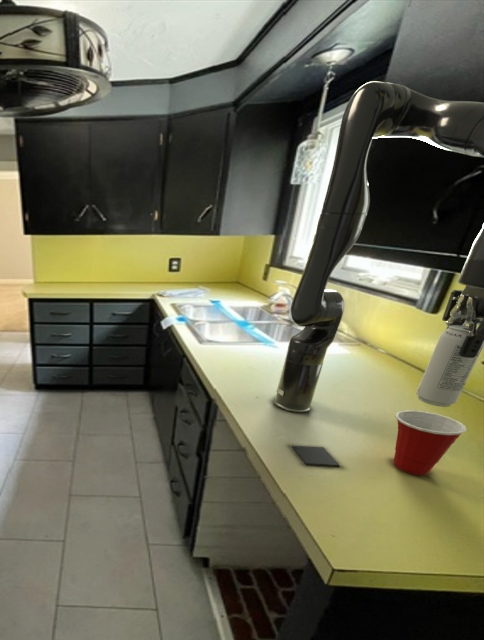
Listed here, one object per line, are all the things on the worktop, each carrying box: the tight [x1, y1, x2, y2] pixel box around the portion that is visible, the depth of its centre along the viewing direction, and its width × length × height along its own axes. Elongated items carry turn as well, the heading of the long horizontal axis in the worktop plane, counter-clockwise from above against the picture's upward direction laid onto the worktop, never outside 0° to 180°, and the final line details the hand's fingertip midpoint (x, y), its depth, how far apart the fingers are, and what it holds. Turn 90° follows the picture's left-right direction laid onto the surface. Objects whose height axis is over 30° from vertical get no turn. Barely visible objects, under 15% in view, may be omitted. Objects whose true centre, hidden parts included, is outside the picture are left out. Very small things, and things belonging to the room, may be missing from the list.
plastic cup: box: [393, 409, 467, 476], centre depth 77 cm, size 11×11×12 cm
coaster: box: [292, 445, 340, 467], centre depth 83 cm, size 7×7×1 cm
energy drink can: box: [415, 325, 484, 408], centre depth 69 cm, size 6×6×15 cm
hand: (456, 350), depth 68 cm, fingers closed on energy drink can, 6 cm apart
